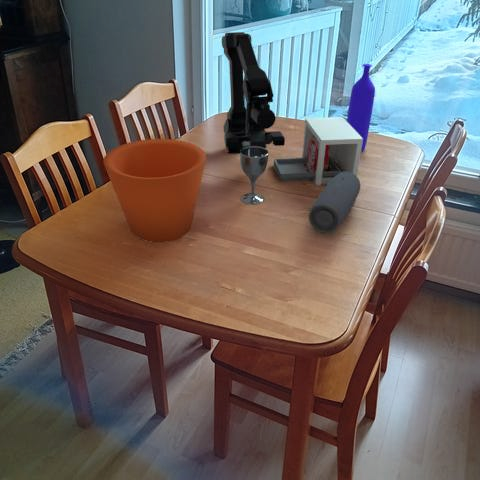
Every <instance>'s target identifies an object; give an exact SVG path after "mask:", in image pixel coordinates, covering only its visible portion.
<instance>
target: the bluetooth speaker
mask: <svg viewBox="0 0 480 480" xmlns="http://www.w3.org/2000/svg"><path fill="white" fill-rule="evenodd" d="M360 190H361V181H360V179H359V177H358V175H357V176H356V175H355V174H353V173H351V172H343V171H342V172H341V173H339V174H337V175H336V176H335V177H334V178H333V179H332V180H331V181H330V182H329V183H326V186H325V187H324V188H323V189H322V191H321V192H320V194H319V195H318V197H317V198H316V199H315V200H314V201H315V202H314V203H313V204H312V206H311V209H310V210H309V213H308V221H309V222H308V223H310V225H311V227H312V228H313V229H314V230H316V231H317V232H319V233H320V232H321V233H324V234H330V233H333V232H334V231H336V230H337V229H338V228H339V227H340V226H341V224H342V223H343V222H344V220H345V219H346V217H347V216H348V215H349V213H350V212H351V210H352V208H353V206H354V204H355V203H356V199H357V198H358V195H359V193H360Z"/></svg>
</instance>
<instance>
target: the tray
mask: <svg viewBox="0 0 480 480" xmlns="http://www.w3.org/2000/svg"><path fill="white" fill-rule="evenodd" d="M273 168H274V169H275V170H274V171H275V172H276V174H277V177H278V179H279V182H285V181H287V182H290V181H315V178H316V172H308V171H307V158H302V157H286V158H282V157H281V158H273ZM328 168H330V170H329V171H328V170H327V171H324V172H322V178H332V177H335V176H336V175H337V174H339V173H341V172H343V171H342V169H341V168H340V167H339V165H338V164H337V163H336V161H334V160H333V159H332V158H331V157H329V162H328Z"/></svg>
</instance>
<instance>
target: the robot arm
mask: <svg viewBox="0 0 480 480" xmlns="http://www.w3.org/2000/svg"><path fill="white" fill-rule="evenodd" d="M221 47H222V48H223V53H224V55H225V57H226V59H227V60H228V62H229V63H228V65H229V86H230V88H229V89H230V90H229V91H230V108H229V109H228V111H227V113H226V119H225V122H224V124H223V132H224V136H223V137H224V139H223V140H224V144H225V148H227V152H228V153H229V154H231V153H232V154H234V153H235V154H237V153H239V154H240V151H241V149H243V148H245V147H249V146H257V147H262V148H265V149H267V147H268V146H267V145H270V144H273V145H274V146H275V147H278V146H279V147H281V146H282V147H283V146H284V145H286V143H285V142H286V141H285V139H286V138H285V136H284V134H283V133H282V131H278V130H276V131H275V130H274V131H266V130H267V129H269V128H272V126H274V125H275V123H276V119H277V118H276V114H275V112H274V111H273V110H272V109H271V105H270V104H269V103H274V99H273V98H274V97H275V96H274V92H273V87H272V83H271V81H270V79H269V77H268V76H267V73H266V71H265V70H263V69H262V68H261V67H260V66H259V63H258V62H259V61H258V60H257V56H256V54H255V50H254V47H253V44H252V36H251V34H250V33H245V32H244V31H242V32H241V31H238V32H225V33H224V35H223V36H221ZM245 102H246V104H245ZM245 105H246V106H245Z"/></svg>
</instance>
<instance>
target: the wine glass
mask: <svg viewBox="0 0 480 480" xmlns="http://www.w3.org/2000/svg"><path fill="white" fill-rule="evenodd" d="M239 159H240V166H241V170H242V172H243V174H245V176H247V178H248V179H249V181H250V183H251V184H250V185H251V192H248V193H244V194H242V195H241V196H240V200H241V201H242V202H243V203H245V204H247V205H260V204H262V203H263V202H265V197H264V196H263V195H262V194H259V193H257V192H256V193H255V186H256V182H257V180H258V178H260V177H261V175H264V172H266V169H267V166H268V162H269V150H268V148H262V147H257V146H249V147H245V148H243V149H241V151H240V153H239Z"/></svg>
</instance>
